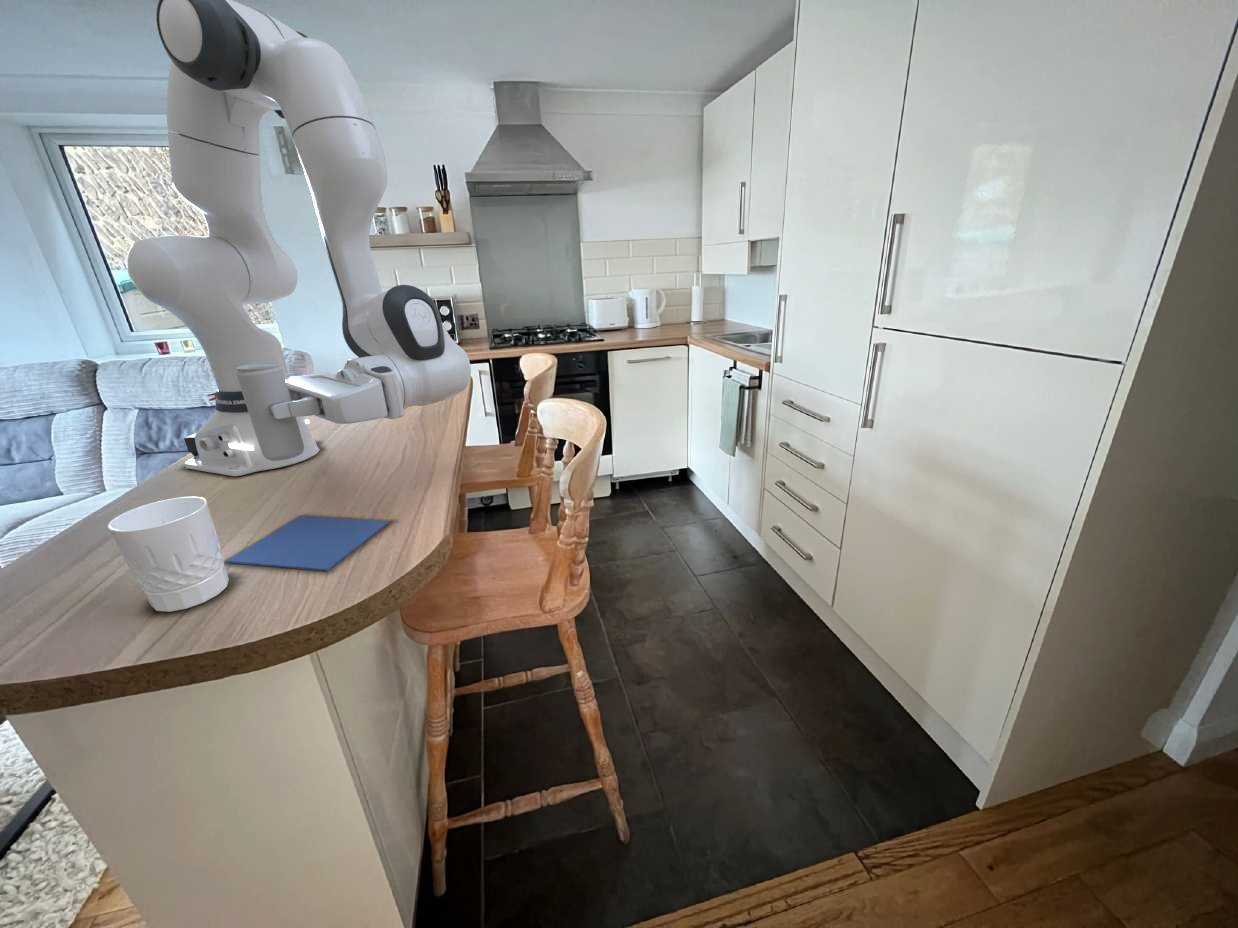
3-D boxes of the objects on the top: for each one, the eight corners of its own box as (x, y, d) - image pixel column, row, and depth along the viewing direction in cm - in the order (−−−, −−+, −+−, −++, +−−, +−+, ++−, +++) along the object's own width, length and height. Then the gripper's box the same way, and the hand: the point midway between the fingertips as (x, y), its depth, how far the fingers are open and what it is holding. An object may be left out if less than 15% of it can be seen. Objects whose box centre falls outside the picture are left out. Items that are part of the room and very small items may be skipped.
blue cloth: (226, 562, 62) (225, 560, 62) (301, 517, 73) (300, 515, 73) (327, 571, 59) (326, 569, 59) (388, 523, 70) (388, 521, 70)
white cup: (180, 575, 59) (148, 498, 56) (250, 570, 60) (223, 494, 56) (125, 619, 52) (84, 533, 48) (205, 613, 52) (171, 527, 49)
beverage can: (285, 462, 65) (257, 369, 60) (254, 461, 66) (224, 369, 61) (313, 450, 69) (289, 361, 65) (284, 449, 70) (258, 362, 66)
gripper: (333, 360, 79) (229, 375, 69) (401, 373, 67) (286, 394, 57) (342, 399, 82) (243, 419, 72) (409, 418, 69) (301, 447, 59)
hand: (262, 408), depth 64 cm, fingers closed on beverage can, 5 cm apart
